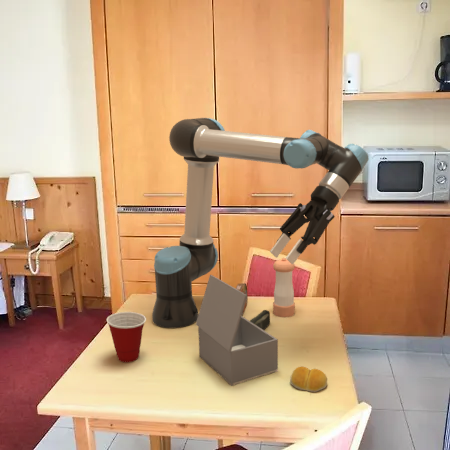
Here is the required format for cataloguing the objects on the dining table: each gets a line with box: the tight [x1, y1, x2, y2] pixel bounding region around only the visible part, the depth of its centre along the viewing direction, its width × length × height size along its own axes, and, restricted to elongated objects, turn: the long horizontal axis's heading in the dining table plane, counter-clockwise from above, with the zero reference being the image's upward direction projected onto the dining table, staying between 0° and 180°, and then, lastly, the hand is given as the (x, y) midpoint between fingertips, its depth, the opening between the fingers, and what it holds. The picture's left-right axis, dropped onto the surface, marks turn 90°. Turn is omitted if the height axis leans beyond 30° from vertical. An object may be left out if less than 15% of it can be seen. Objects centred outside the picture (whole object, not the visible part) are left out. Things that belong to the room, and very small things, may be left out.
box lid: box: [195, 274, 248, 351], centre depth 134 cm, size 19×14×1 cm
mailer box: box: [197, 315, 279, 387], centre depth 139 cm, size 18×14×9 cm
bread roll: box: [289, 365, 328, 393], centre depth 129 cm, size 8×9×4 cm
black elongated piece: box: [249, 309, 271, 331], centre depth 159 cm, size 5×3×15 cm
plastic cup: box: [106, 311, 147, 363], centre depth 143 cm, size 11×11×12 cm
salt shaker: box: [272, 257, 296, 318], centre depth 171 cm, size 7×7×19 cm
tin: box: [235, 282, 249, 316], centre depth 175 cm, size 15×3×8 cm, turn 168°
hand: (281, 257), depth 140 cm, fingers open, 7 cm apart
